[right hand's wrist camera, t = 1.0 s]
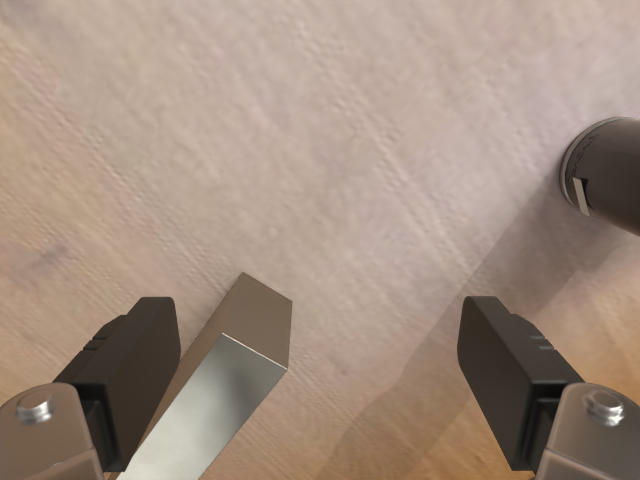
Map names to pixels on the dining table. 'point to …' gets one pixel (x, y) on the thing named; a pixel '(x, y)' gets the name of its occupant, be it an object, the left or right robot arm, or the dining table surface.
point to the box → (216, 384)
